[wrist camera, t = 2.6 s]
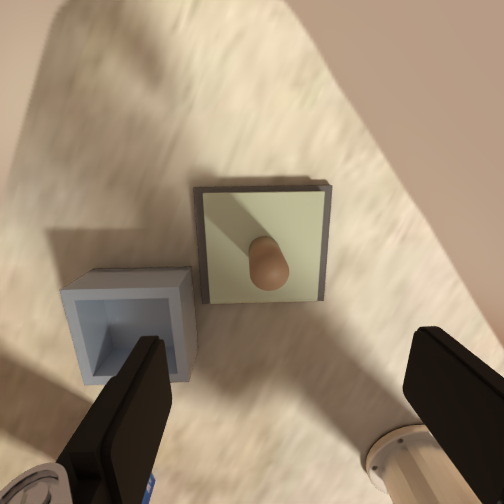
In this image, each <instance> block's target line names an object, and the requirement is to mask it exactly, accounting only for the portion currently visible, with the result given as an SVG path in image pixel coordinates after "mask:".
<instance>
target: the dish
mask: <svg viewBox="0 0 504 504" xmlns="http://www.w3.org/2000/svg"><path fill="white" fill-rule="evenodd" d="M60 294H61V298H62V302H63V306H64V310H65V314H66V317H67V321H68V325H69V329H70V333H71V337H72V341H73V344H74V348H75V352H76V356H77V360H78V364H79V368H80V371H81V375H82V379H83V383H84V385H106V383H107V382H108V381H109V379H110V378H111V377H113V376H116V375H117V374H118V372H119V370H120V369H121V367H122V366H123V364H124V362H125V361H126V359H127V358H128V356H129V354H130V353H131V351H132V350H133V348H134V346H135V345H136V343H137V342H138V340H139V338H140V337H141V336H154V335H157V336H159V339H163V340H164V342H165V349H166V356H167V363H168V371H169V378H170V383H172V382H189V380H190V377H191V373H192V369H193V366H194V362H195V358H196V355H197V351H198V340H197V329H196V317H195V306H194V295H193V284H192V273H191V267H158V268H113V269H93V270H91V271H89V272H88V273H86V274H85V275H83V276H81V277H80V278H78V279H76V280H75V281H73V282H72V283H70V284H68V285H67V286H65V287H63V288H62V289H60Z"/></svg>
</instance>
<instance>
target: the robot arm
mask: <svg viewBox="0 0 504 504" xmlns="http://www.w3.org/2000/svg"><path fill="white" fill-rule="evenodd" d="M403 393H404V396H405V398H406V399H407V401H408V402H409V403H410V405H411V406H412V408H413V409H414V410H415V412H416V413H417V414H418V416H419V417H420V419H421V420H422V421H423V423H424V424H425V425H411V426H405V427H402V428H399V429H396V430H394V431H392V432H390V433H388V434H386V435H385V436H383V437H382V438H380V439H379V440H378V441H377V442H376V443H375V444H374V445H373V447H372V448H371V449H370V451H369V453H368V455H367V459H366V470H367V474H368V476H369V478H370V480H371V482H372V484H373V485H374V486H375V487H376V488H377V489H378V490H380V491H381V492H383V493H385V494H388V495H389V496H390V498H391V500H392V502H393V504H504V378H503V377H502V376H501V375H500V374H498V373H497V372H496V371H495V370H493V369H492V368H491V367H489V366H488V365H487V364H486V363H484V362H483V361H482V360H481V359H479V358H478V357H477V356H475V355H474V354H473V353H472V352H470V351H469V350H468V349H467V348H465V347H464V346H463V345H461V344H460V343H459V342H458V341H456V340H455V339H454V338H453V337H451V336H450V335H449V334H447V333H446V332H445V331H444V330H442V329H441V328H439V327H437V326H427V327H419V328H418V330H417V331H415V332H414V335H413V340H412V345H411V349H410V354H409V359H408V364H407V368H406V373H405V378H404V383H403ZM171 405H172V392H171V385H170V378H169V371H168V363H167V356H166V349H165V342H164V340H163V339H159V336H157V335H154V336H141V337H140V338H139V340H138V342H137V343H136V345H135V346H134V348H133V350H132V351H131V353H130V354H129V356H128V358H127V359H126V361H125V362H124V364H123V366H122V367H121V369H120V370H119V372H118V374H117V375H116V376H113V377H111V378H110V379H109V381H108V382H107V383H106V385H105V386H104V388H103V389H102V391H101V393H100V394H99V396H98V397H97V399H96V400H95V402H94V403H93V405H92V406H91V408H90V410H89V411H88V413H87V414H86V416H85V417H84V419H83V420H82V422H81V423H80V425H79V427H78V428H77V430H76V431H75V433H74V434H73V436H72V437H71V439H70V441H69V442H68V444H67V445H66V447H65V448H64V450H63V451H62V453H61V454H60V456H59V458H58V459H57V461H56V462H55V463H45V464H41V465H38V466H35V467H33V468H31V469H29V470H27V471H25V472H24V473H22V474H21V475H19V476H18V477H16V478H15V479H13V480H12V481H11V482H10V483H9V484H8V485H7V486H5V487H4V488H3V489H2V490H1V491H0V504H142V501H143V498H144V494H145V491H146V488H147V485H148V481H149V478H150V475H151V472H152V468H153V465H154V462H155V458H156V455H157V452H158V449H159V445H160V442H161V439H162V435H163V432H164V429H165V426H166V422H167V419H168V416H169V413H170V409H171Z"/></svg>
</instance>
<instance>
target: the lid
mask: <svg viewBox="0 0 504 504" xmlns="http://www.w3.org/2000/svg"><path fill="white" fill-rule="evenodd" d="M324 196H325V192H324V191H296V192H233V193H203V206H204V220H205V234H206V249H207V263H208V278H209V292H210V304H227V303H266V302H305V301H317V298H318V283H319V269H320V254H321V239H322V225H323V210H324Z"/></svg>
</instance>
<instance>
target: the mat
mask: <svg viewBox="0 0 504 504" xmlns="http://www.w3.org/2000/svg"><path fill="white" fill-rule="evenodd" d="M296 191H324V192H325V196H324V210H323V225H322V239H321V254H320V269H319V283H318V298H317V301H324V290H325V277H326V264H327V251H328V238H329V225H330V211H331V198H332V185H311V186H247V187H194V188H193V192H194V204H195V217H196V229H197V242H198V255H199V267H200V280H201V292H202V304H210V292H209V278H208V263H207V249H206V234H205V220H204V206H203V193H233V192H296Z"/></svg>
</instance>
